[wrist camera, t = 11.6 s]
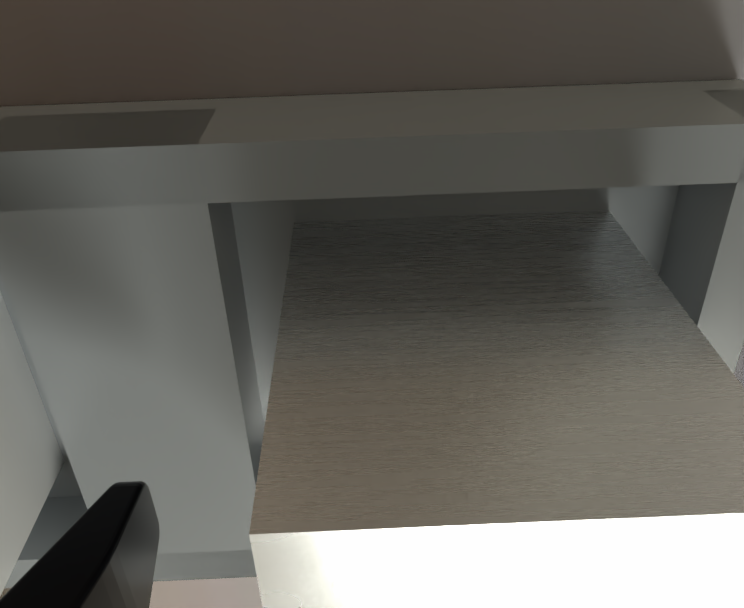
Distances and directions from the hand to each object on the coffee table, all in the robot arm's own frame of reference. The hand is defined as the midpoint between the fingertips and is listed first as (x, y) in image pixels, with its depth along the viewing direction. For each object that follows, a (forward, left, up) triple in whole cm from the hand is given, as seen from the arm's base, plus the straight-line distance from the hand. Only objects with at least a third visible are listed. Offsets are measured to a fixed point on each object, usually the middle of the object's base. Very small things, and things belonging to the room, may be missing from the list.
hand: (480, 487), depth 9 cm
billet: (0, 0, -3) cm, 3 cm away
